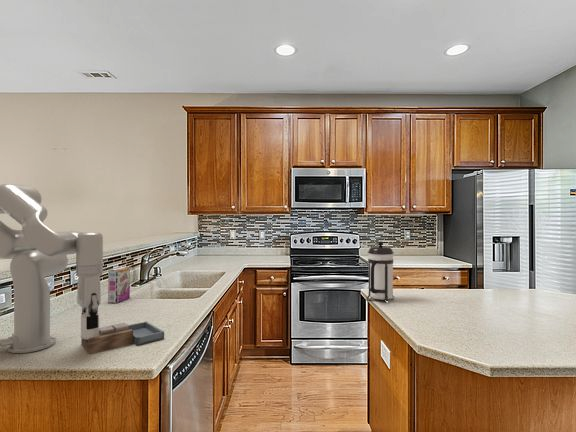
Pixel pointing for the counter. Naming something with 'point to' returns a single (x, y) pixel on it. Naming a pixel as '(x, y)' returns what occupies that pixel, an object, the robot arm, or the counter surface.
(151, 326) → the tray
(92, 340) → the slot block
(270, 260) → the counter surface
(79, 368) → the counter surface
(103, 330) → the chip
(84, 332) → the eye dropper bottle
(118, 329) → the chip
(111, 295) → the candy bar box
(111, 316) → the counter surface
